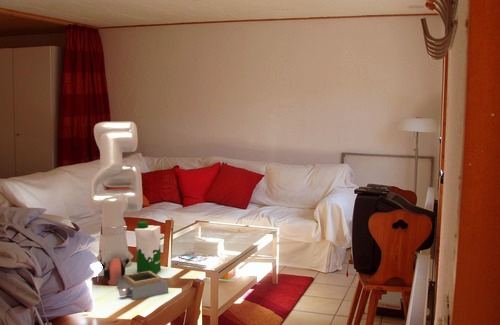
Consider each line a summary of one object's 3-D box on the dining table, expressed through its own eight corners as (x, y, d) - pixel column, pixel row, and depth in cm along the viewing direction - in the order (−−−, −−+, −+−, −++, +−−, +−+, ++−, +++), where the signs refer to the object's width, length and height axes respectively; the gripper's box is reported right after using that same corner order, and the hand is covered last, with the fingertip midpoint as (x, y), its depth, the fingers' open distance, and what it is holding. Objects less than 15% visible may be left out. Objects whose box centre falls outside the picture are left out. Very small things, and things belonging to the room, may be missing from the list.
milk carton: (142, 268, 223) (141, 219, 221) (163, 269, 221) (162, 220, 219) (134, 274, 214) (132, 224, 212) (155, 275, 213) (154, 225, 211)
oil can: (106, 282, 205) (104, 248, 204) (119, 280, 208) (118, 246, 206) (110, 286, 201) (109, 251, 199) (123, 283, 203) (122, 249, 202)
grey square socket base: (109, 289, 197) (108, 275, 197) (150, 281, 206) (150, 268, 205) (124, 301, 184) (123, 287, 183) (168, 292, 192) (167, 279, 192)
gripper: (131, 225, 210) (133, 272, 212) (87, 231, 201) (89, 279, 203) (138, 229, 204) (140, 277, 205) (93, 235, 194) (95, 285, 196)
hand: (114, 277), depth 204 cm, fingers closed on oil can, 5 cm apart
